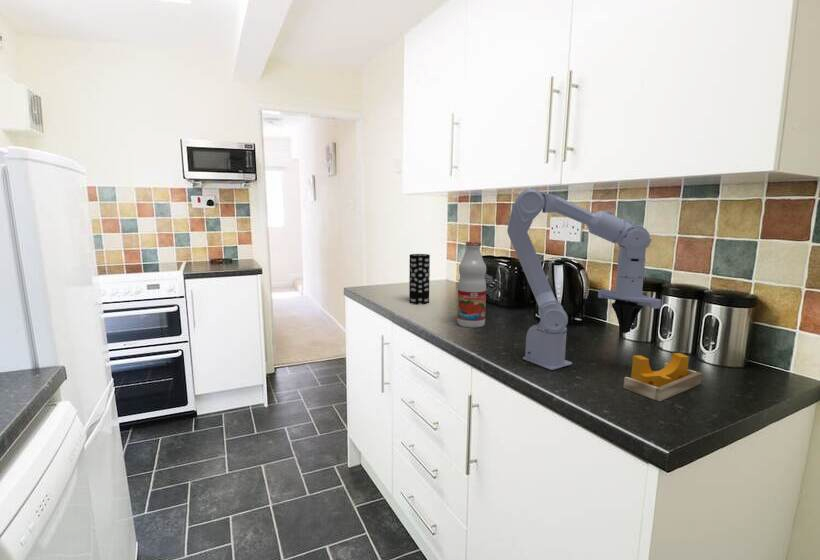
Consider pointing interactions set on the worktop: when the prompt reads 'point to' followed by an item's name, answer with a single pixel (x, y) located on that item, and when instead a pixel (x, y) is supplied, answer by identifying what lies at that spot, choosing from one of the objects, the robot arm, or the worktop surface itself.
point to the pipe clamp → (664, 376)
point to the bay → (664, 386)
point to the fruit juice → (472, 288)
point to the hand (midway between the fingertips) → (624, 331)
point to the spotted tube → (419, 278)
